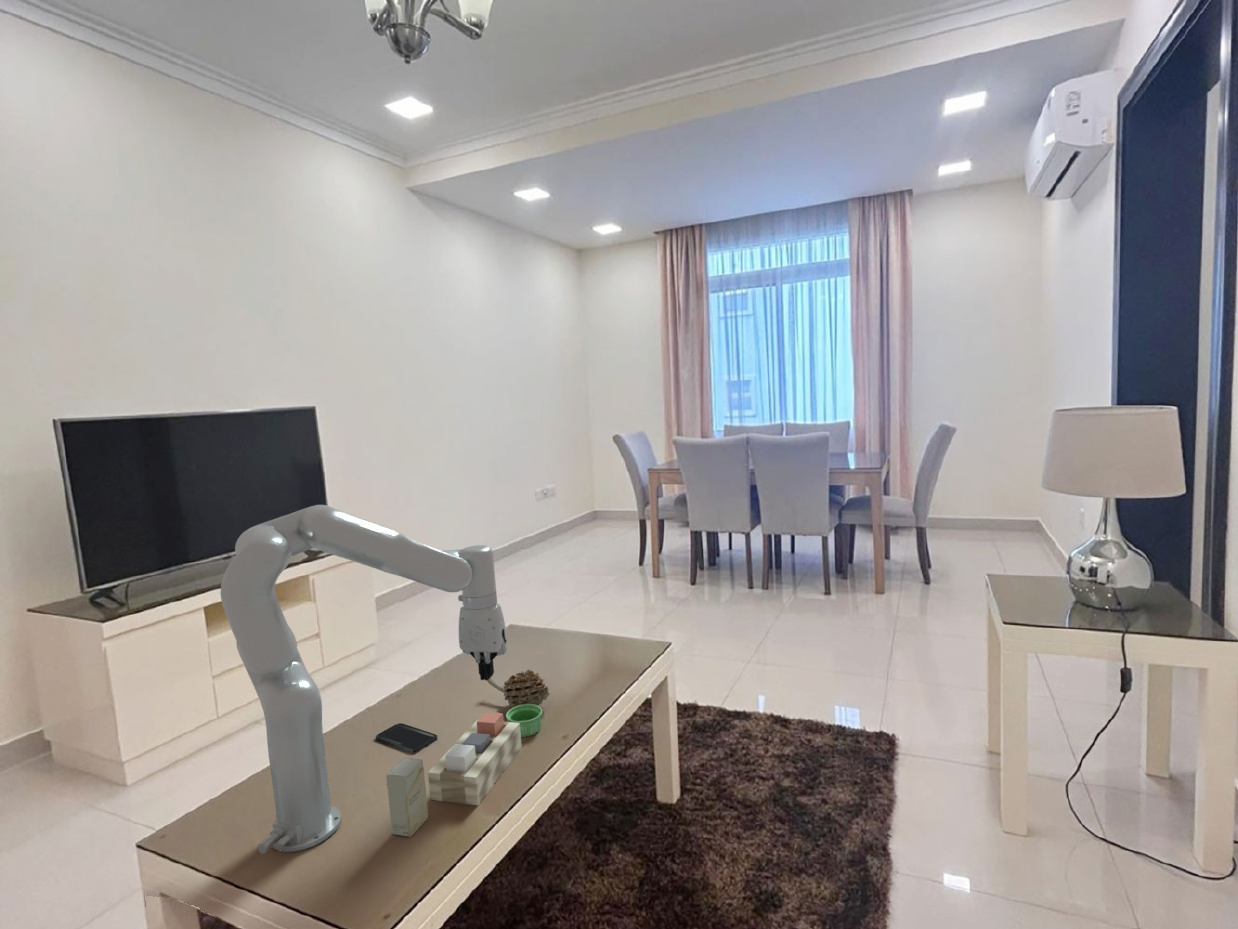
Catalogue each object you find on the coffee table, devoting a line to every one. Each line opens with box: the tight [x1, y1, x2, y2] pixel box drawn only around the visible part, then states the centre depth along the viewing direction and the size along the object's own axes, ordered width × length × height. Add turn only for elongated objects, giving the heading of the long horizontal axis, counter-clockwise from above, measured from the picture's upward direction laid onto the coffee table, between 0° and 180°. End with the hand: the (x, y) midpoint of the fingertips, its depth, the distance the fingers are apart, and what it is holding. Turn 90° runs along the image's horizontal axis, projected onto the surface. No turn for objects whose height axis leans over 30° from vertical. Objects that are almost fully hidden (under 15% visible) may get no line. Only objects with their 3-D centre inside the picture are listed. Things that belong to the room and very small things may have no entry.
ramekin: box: [505, 704, 543, 738], centre depth 158 cm, size 9×9×4 cm
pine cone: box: [486, 669, 550, 707], centre depth 171 cm, size 22×10×10 cm, turn 62°
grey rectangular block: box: [462, 733, 491, 754], centre depth 140 cm, size 4×4×6 cm
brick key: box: [476, 711, 505, 737], centre depth 147 cm, size 4×4×6 cm
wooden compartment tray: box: [427, 719, 523, 806], centre depth 140 cm, size 22×11×6 cm, turn 165°
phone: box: [375, 722, 438, 754], centre depth 156 cm, size 8×1×15 cm
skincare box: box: [385, 757, 429, 837], centre depth 123 cm, size 6×4×12 cm
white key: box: [444, 743, 476, 773], centre depth 133 cm, size 4×4×6 cm
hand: (486, 677), depth 145 cm, fingers closed
